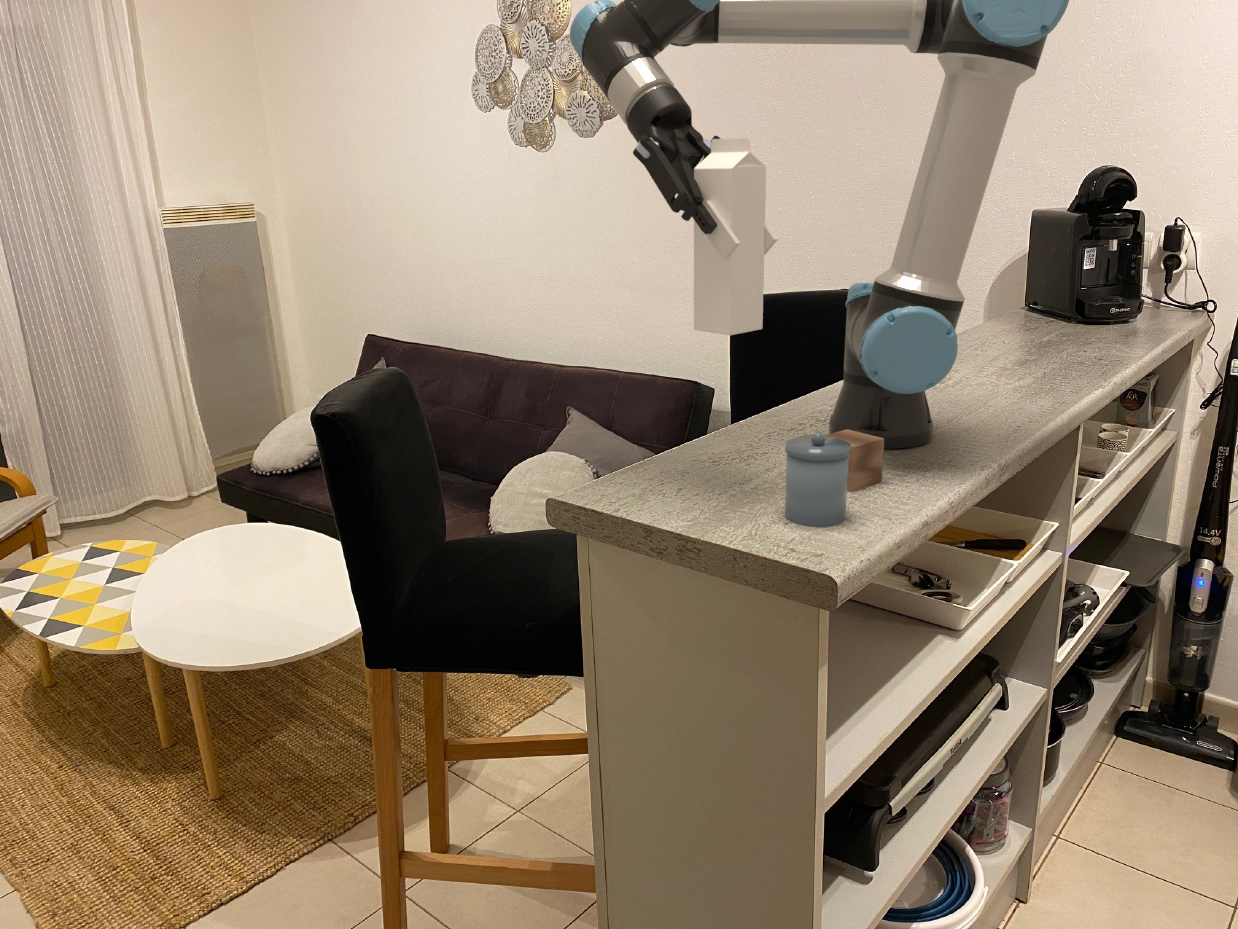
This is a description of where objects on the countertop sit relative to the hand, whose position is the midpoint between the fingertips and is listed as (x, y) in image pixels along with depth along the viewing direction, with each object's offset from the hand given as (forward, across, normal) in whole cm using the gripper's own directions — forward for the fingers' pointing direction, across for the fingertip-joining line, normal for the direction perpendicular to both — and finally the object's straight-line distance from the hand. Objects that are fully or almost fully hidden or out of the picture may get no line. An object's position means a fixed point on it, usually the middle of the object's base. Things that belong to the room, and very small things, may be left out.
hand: (750, 249), depth 110 cm
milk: (+5, 0, -10) cm, 11 cm away
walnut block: (+26, -14, -18) cm, 34 cm away
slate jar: (+29, 0, -14) cm, 32 cm away
